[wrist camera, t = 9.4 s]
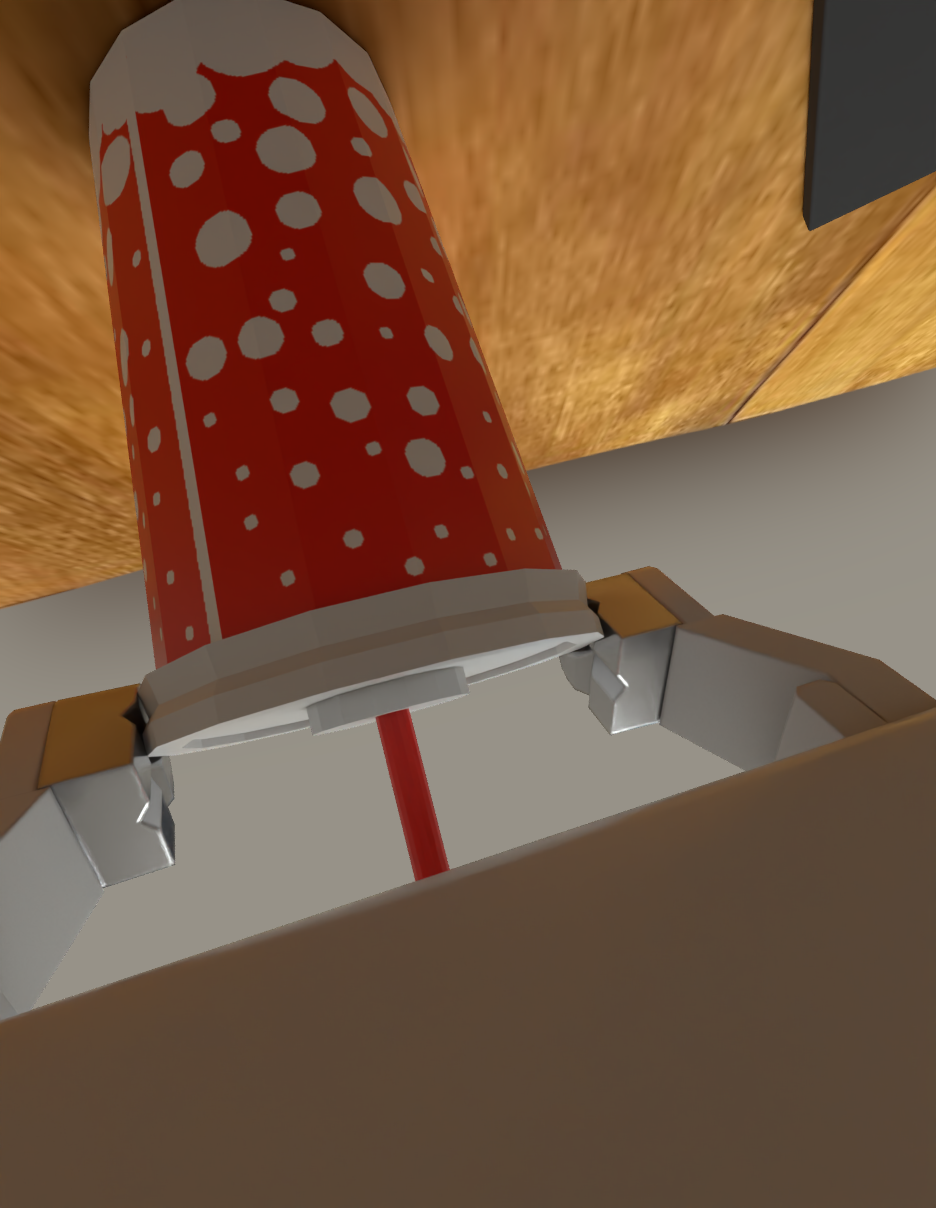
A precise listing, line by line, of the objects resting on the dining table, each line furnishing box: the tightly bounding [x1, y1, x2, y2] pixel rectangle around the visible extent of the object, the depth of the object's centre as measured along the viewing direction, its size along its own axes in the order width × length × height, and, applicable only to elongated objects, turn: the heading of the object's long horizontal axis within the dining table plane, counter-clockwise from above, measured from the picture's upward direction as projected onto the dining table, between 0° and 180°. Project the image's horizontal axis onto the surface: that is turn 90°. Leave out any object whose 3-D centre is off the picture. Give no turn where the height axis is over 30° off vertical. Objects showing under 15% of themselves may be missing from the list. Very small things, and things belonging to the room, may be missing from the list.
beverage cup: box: [89, 0, 604, 881], centre depth 10 cm, size 6×6×14 cm
